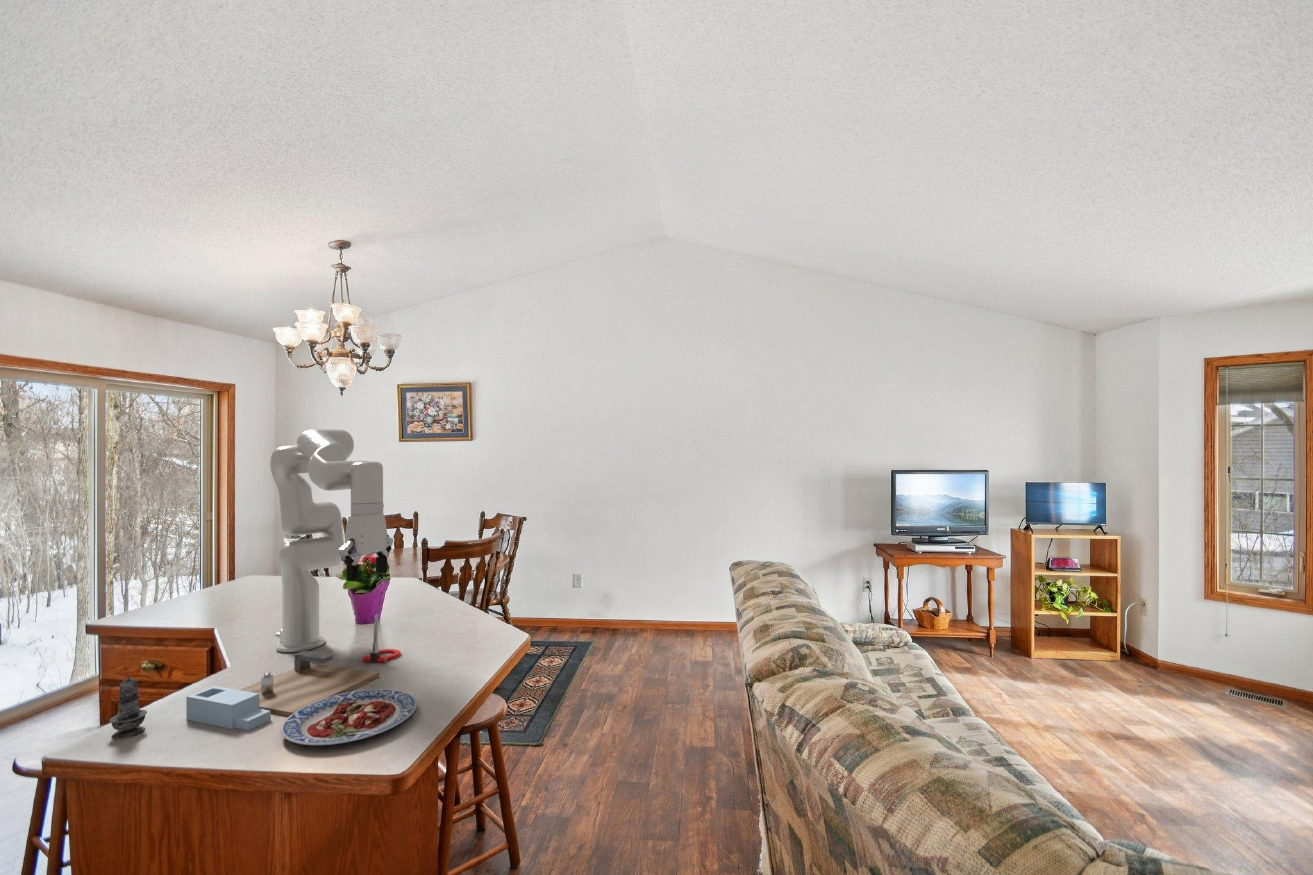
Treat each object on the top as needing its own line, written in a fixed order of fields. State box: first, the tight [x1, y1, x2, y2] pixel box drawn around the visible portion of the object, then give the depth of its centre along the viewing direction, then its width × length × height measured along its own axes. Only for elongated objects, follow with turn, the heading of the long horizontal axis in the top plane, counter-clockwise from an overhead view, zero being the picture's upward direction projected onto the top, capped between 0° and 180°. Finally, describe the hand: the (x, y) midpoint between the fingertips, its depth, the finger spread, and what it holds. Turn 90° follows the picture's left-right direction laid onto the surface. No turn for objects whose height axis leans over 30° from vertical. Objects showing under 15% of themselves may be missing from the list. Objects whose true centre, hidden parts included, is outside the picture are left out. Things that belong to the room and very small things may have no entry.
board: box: [240, 662, 380, 717], centre depth 145 cm, size 24×24×1 cm
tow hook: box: [362, 614, 401, 664], centre depth 167 cm, size 8×13×9 cm
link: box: [185, 685, 272, 731], centre depth 129 cm, size 18×6×5 cm, turn 71°
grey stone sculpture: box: [109, 674, 148, 740], centre depth 123 cm, size 6×6×12 cm
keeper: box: [293, 650, 334, 671], centre depth 154 cm, size 10×3×4 cm, turn 71°
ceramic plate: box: [280, 688, 417, 746], centre depth 127 cm, size 26×26×3 cm
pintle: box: [260, 671, 274, 695], centre depth 140 cm, size 2×2×5 cm
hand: (367, 576), depth 151 cm, fingers open, 9 cm apart
